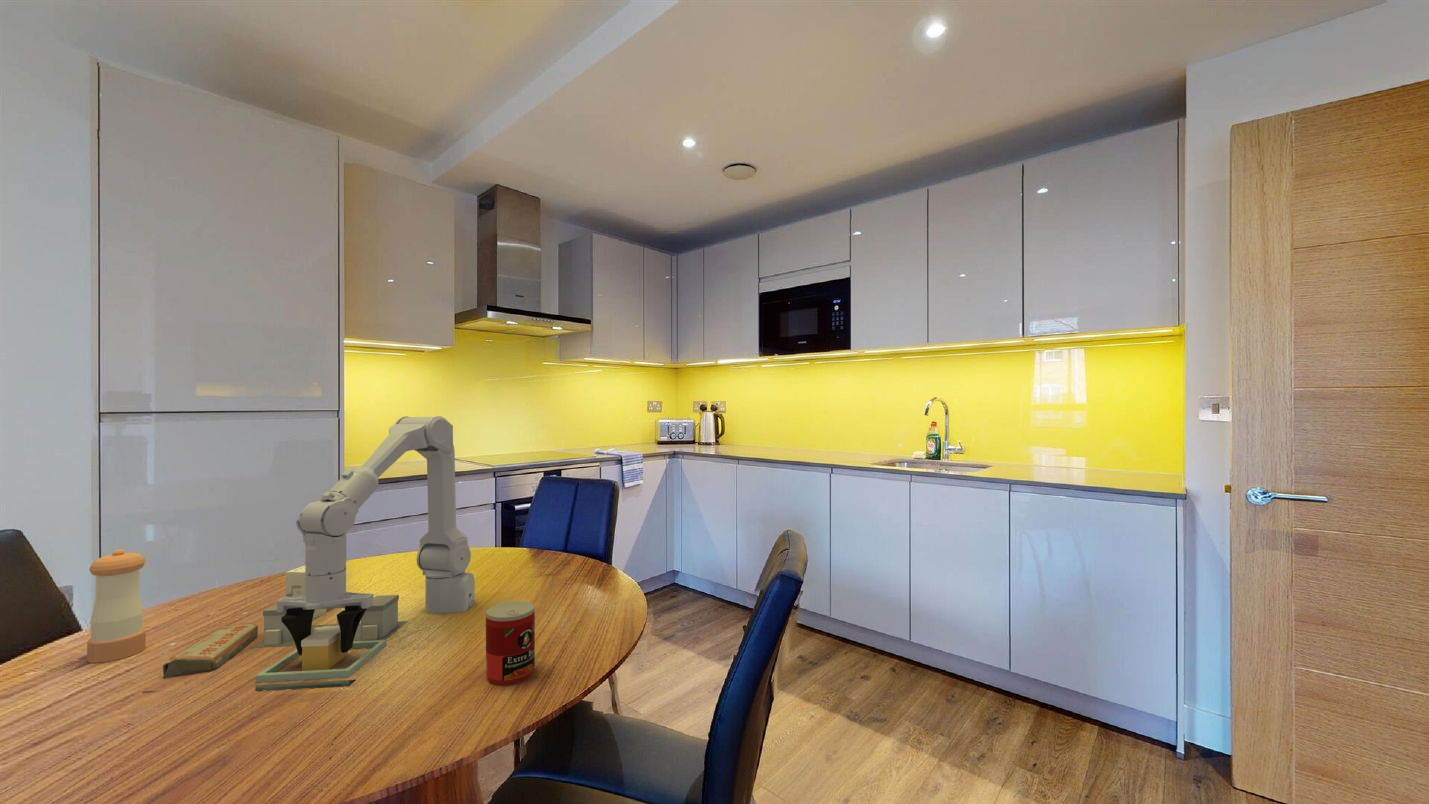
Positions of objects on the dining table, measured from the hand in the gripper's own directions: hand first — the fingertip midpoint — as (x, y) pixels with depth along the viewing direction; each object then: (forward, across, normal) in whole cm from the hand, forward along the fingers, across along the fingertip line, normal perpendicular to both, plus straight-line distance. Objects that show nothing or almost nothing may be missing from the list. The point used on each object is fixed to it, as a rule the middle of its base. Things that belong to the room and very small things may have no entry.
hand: (325, 651), depth 93 cm
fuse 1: (+2, -14, +13) cm, 20 cm away
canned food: (+4, +32, -5) cm, 33 cm away
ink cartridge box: (+4, -17, +25) cm, 30 cm away
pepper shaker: (+4, -43, +12) cm, 45 cm away
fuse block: (+3, -6, +13) cm, 15 cm away
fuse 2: (+2, +2, +13) cm, 13 cm away
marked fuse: (+3, 0, 0) cm, 3 cm away
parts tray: (+3, 0, 0) cm, 3 cm away
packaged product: (+4, -22, +5) cm, 23 cm away
